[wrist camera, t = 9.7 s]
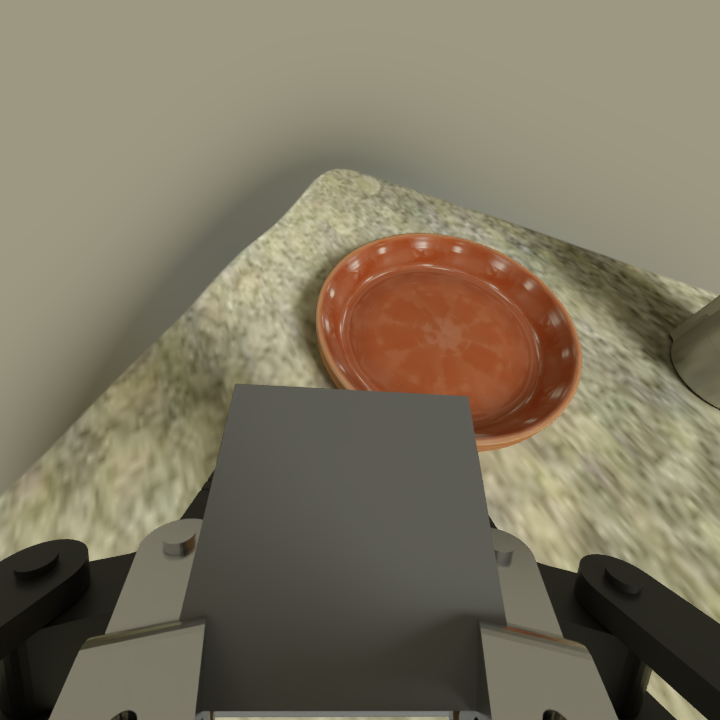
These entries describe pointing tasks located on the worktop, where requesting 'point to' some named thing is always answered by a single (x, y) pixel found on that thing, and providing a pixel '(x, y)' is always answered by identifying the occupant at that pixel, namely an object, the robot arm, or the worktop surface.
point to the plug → (344, 554)
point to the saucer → (451, 332)
